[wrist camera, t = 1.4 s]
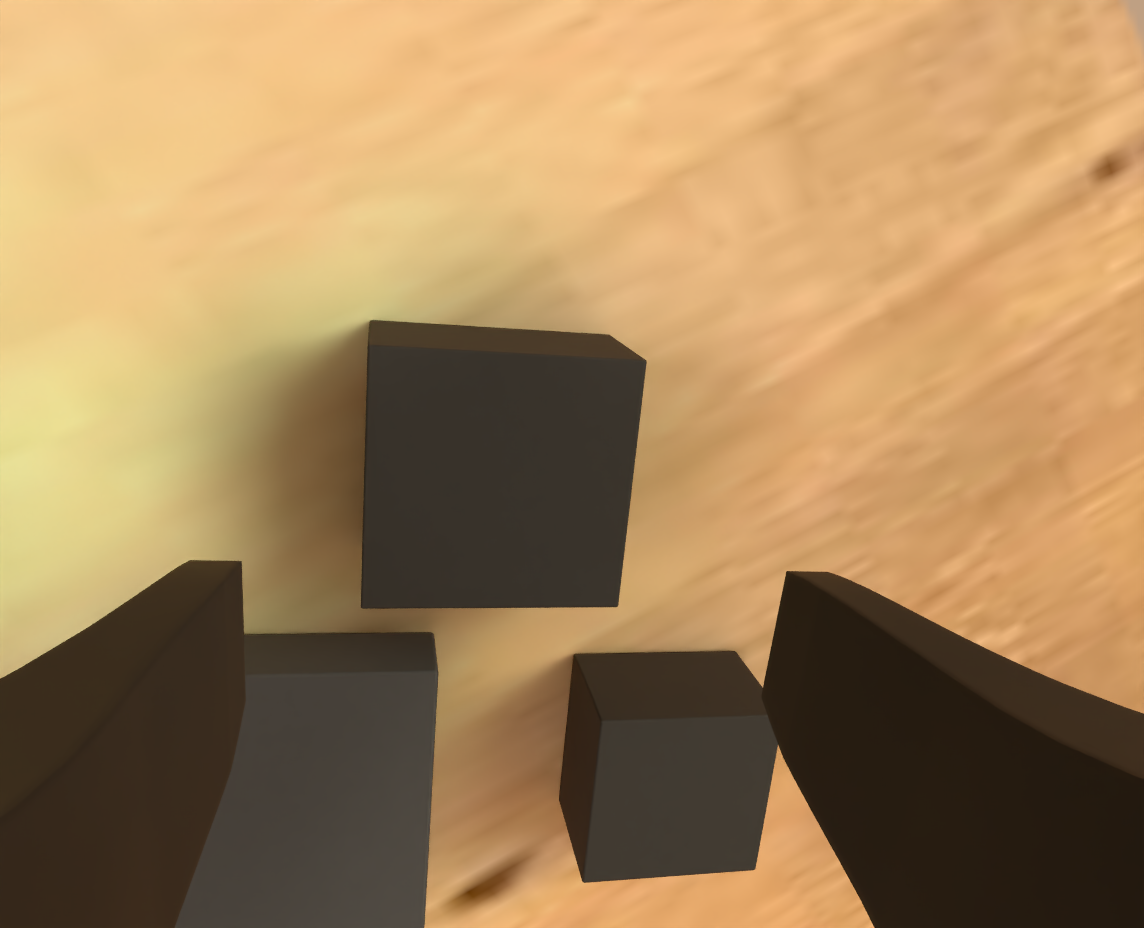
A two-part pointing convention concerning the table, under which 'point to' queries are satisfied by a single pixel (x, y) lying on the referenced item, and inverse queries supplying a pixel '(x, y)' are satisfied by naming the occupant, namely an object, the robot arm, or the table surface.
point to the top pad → (665, 764)
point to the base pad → (325, 788)
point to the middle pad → (496, 466)
